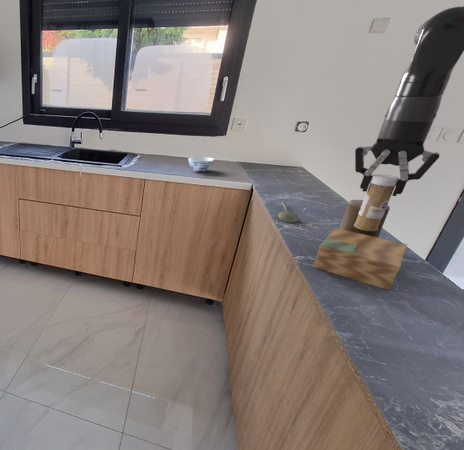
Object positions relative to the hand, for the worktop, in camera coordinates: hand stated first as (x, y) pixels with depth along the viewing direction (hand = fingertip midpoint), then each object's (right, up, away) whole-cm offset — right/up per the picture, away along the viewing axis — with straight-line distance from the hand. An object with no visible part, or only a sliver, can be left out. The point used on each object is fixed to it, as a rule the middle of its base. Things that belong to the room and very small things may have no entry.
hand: (379, 192), depth 74 cm
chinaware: (+12, +27, +126) cm, 129 cm away
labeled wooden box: (+9, -20, +15) cm, 26 cm away
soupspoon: (+16, -3, +54) cm, 57 cm away
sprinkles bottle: (0, -9, +4) cm, 10 cm away
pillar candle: (+21, -14, +29) cm, 38 cm away
